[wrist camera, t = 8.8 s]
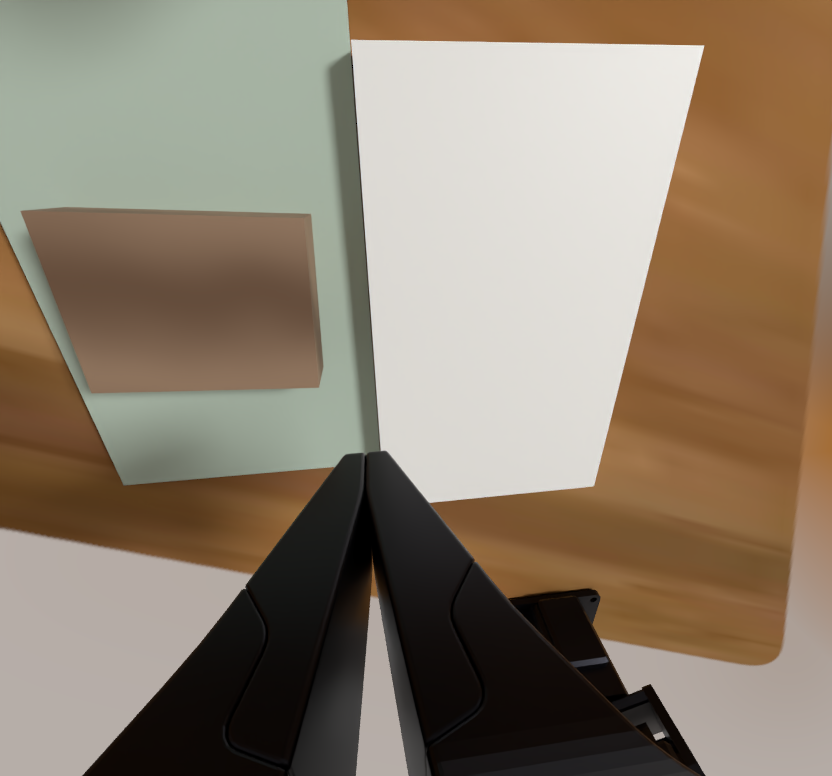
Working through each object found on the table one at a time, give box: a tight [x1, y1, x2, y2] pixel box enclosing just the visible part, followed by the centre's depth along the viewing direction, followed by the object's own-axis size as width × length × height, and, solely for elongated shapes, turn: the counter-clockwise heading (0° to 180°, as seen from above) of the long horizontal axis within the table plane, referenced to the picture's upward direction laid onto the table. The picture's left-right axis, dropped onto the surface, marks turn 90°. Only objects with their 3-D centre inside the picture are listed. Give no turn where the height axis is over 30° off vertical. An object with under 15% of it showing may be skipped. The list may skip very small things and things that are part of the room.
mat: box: [0, 0, 380, 485], centre depth 15 cm, size 18×12×1 cm, turn 1°
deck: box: [351, 40, 704, 503], centre depth 17 cm, size 18×11×2 cm, turn 1°
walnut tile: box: [20, 207, 324, 393], centre depth 14 cm, size 6×8×2 cm
